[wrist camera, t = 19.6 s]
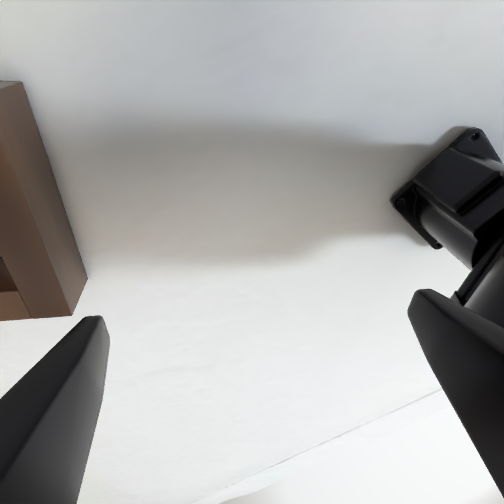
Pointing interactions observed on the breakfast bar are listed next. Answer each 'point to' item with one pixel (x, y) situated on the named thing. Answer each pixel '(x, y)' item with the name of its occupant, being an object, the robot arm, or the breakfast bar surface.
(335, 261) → the breakfast bar surface
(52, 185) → the frame
